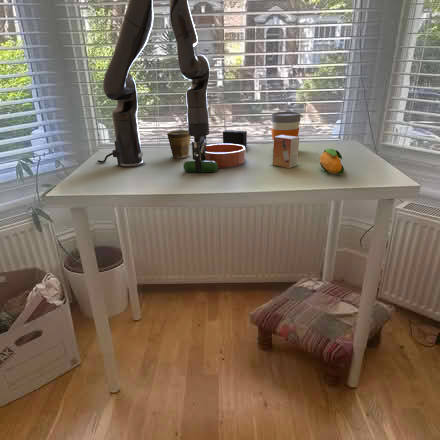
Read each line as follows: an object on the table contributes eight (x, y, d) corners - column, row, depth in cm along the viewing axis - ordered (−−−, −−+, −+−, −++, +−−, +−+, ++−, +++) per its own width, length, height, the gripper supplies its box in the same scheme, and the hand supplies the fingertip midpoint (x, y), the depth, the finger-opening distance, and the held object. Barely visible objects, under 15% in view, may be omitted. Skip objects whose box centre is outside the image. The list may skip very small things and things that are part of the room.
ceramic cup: (196, 156, 171) (195, 132, 166) (176, 160, 167) (174, 135, 162) (181, 152, 181) (179, 128, 176) (162, 155, 176) (159, 131, 171)
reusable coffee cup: (264, 151, 176) (265, 114, 168) (278, 146, 184) (279, 111, 177) (290, 154, 169) (292, 116, 162) (303, 149, 178) (305, 112, 170)
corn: (338, 144, 147) (351, 156, 130) (337, 165, 151) (349, 179, 134) (317, 146, 148) (328, 158, 131) (317, 166, 152) (327, 181, 135)
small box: (272, 165, 155) (273, 136, 149) (280, 162, 158) (281, 134, 153) (289, 168, 150) (291, 138, 144) (297, 165, 153) (299, 136, 148)
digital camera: (247, 146, 187) (247, 130, 184) (243, 148, 183) (243, 132, 180) (227, 145, 191) (227, 129, 188) (223, 147, 187) (222, 131, 183)
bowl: (196, 167, 155) (195, 153, 152) (205, 157, 170) (204, 143, 167) (242, 168, 152) (242, 153, 149) (247, 157, 167) (247, 143, 165)
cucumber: (182, 173, 149) (181, 162, 147) (185, 170, 152) (184, 159, 150) (216, 173, 147) (216, 162, 145) (218, 170, 150) (218, 159, 148)
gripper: (192, 118, 147) (195, 163, 155) (182, 124, 135) (186, 172, 143) (212, 117, 146) (214, 163, 154) (204, 123, 134) (207, 172, 142)
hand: (200, 167), depth 149 cm, fingers open, 8 cm apart
